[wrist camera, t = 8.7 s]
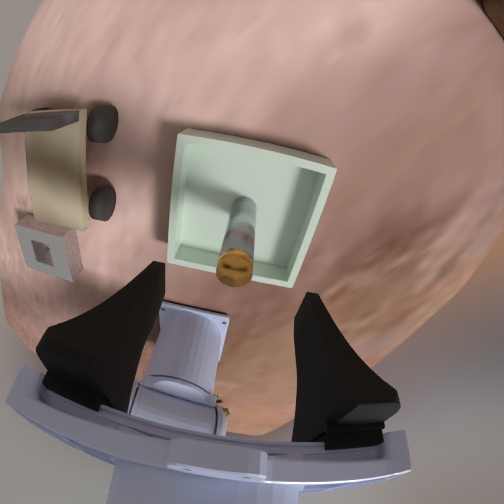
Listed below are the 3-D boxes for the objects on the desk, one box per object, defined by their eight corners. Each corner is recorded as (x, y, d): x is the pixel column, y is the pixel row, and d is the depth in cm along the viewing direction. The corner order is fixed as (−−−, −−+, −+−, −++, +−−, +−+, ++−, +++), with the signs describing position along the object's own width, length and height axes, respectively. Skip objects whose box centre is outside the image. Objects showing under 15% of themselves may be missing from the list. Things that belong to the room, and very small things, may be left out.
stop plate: (83, 268, 27) (73, 282, 25) (37, 254, 27) (26, 266, 25) (75, 224, 24) (62, 237, 22) (27, 213, 23) (15, 224, 21)
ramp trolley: (116, 211, 23) (77, 254, 17) (50, 199, 22) (8, 234, 17) (119, 103, 17) (65, 118, 12) (45, 105, 17) (-8, 124, 11)
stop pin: (251, 222, 22) (245, 291, 16) (228, 214, 22) (211, 280, 15) (260, 201, 21) (258, 264, 15) (236, 193, 21) (221, 253, 14)
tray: (290, 270, 26) (292, 288, 24) (175, 246, 25) (167, 262, 23) (329, 159, 20) (337, 168, 17) (187, 127, 19) (177, 133, 17)
